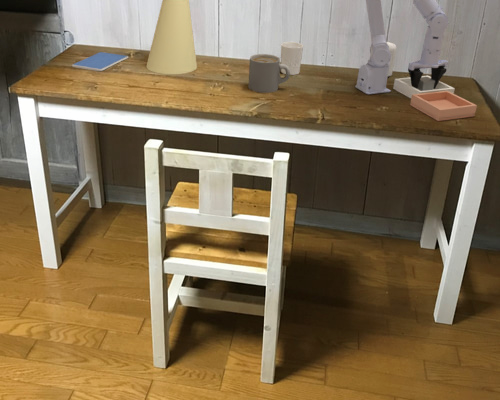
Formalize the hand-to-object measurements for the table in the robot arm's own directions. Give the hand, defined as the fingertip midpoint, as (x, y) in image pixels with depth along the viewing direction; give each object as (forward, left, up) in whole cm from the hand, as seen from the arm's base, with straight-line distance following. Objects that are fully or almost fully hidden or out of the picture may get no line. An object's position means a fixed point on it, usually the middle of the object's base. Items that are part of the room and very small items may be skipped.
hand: (423, 89), depth 191 cm
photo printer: (-4, +20, -2) cm, 20 cm away
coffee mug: (-49, +19, -2) cm, 53 cm away
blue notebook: (-97, +62, -2) cm, 115 cm away
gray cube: (0, 0, -1) cm, 1 cm away
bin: (-4, -15, -2) cm, 16 cm away
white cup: (-34, +33, -2) cm, 47 cm away
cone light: (-72, +53, -2) cm, 89 cm away
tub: (0, 0, -2) cm, 2 cm away
